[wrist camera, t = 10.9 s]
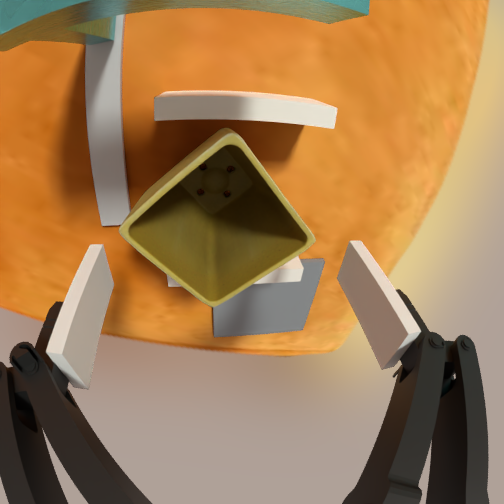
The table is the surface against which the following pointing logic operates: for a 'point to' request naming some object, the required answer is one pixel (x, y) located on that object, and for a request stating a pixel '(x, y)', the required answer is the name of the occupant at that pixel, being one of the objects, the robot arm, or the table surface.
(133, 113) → the table surface
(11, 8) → the gate
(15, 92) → the table surface
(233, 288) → the flower pot
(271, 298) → the mat
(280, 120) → the white bars
